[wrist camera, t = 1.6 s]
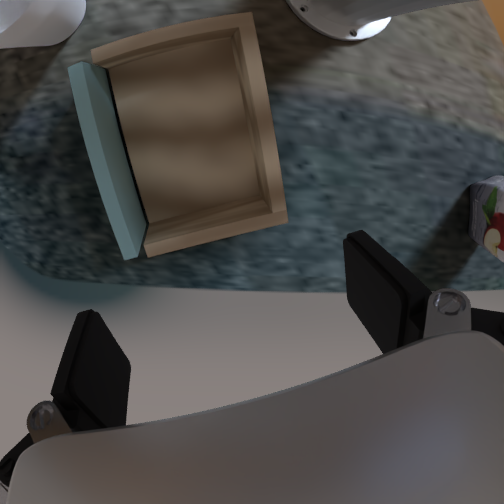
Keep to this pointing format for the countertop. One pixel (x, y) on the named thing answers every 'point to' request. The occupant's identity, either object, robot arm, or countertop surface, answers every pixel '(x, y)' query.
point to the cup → (38, 21)
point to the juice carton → (488, 215)
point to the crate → (197, 130)
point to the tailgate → (108, 155)
